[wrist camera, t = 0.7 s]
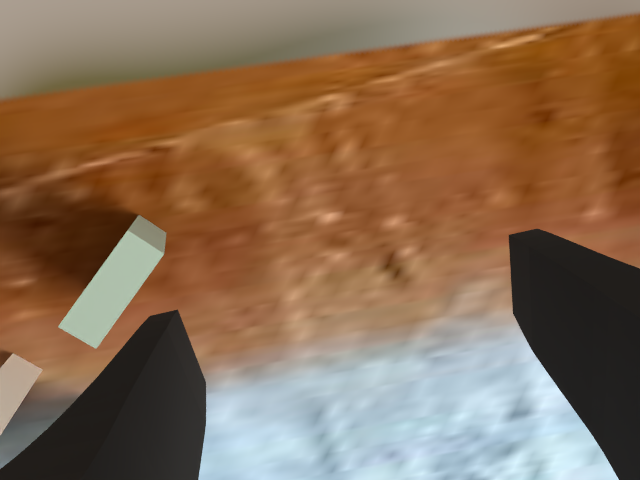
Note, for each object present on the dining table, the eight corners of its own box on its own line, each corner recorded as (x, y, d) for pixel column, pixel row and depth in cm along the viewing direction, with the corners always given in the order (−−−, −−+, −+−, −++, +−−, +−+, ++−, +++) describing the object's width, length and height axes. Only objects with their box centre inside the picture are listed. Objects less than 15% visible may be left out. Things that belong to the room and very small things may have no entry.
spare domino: (166, 232, 29) (164, 253, 22) (115, 304, 29) (95, 348, 22) (138, 214, 29) (127, 230, 22) (86, 287, 29) (58, 326, 21)
